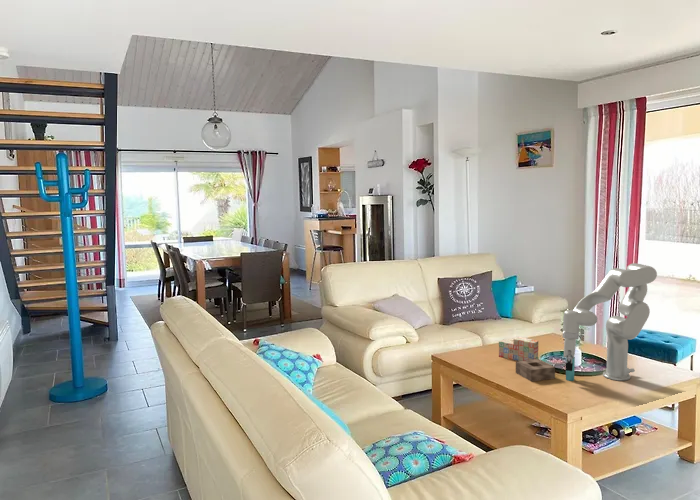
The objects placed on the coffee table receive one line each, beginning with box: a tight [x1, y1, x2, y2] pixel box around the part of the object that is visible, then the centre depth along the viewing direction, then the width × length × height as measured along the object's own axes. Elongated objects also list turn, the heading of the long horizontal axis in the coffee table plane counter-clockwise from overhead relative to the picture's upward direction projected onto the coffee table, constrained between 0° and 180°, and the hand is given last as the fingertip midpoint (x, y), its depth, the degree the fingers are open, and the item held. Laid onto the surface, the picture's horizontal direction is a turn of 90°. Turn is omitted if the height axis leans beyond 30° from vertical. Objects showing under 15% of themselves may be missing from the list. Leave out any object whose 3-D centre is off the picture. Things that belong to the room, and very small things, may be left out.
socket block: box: [515, 358, 556, 382], centre depth 278 cm, size 14×14×6 cm
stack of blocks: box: [498, 336, 539, 362], centre depth 306 cm, size 21×6×12 cm, turn 47°
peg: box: [565, 356, 576, 382], centre depth 271 cm, size 4×4×12 cm
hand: (569, 367), depth 271 cm, fingers open, 9 cm apart
